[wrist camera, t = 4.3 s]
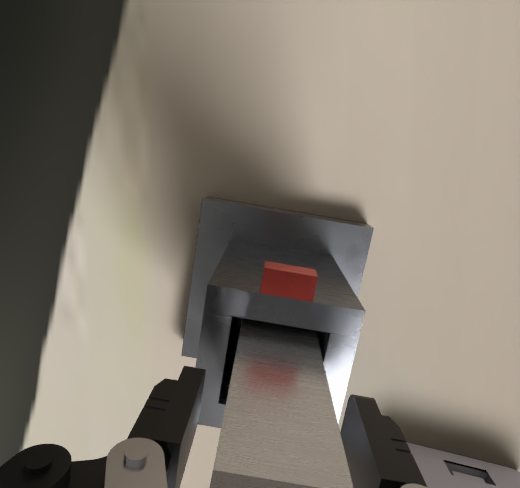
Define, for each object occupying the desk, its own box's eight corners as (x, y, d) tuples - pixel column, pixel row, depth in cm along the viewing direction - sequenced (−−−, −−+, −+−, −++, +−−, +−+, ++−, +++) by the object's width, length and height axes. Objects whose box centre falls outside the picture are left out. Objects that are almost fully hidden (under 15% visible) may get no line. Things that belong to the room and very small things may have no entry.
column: (251, 268, 23) (191, 564, 6) (303, 277, 23) (384, 596, 6) (243, 317, 23) (168, 703, 7) (294, 326, 23) (343, 732, 7)
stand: (206, 196, 24) (160, 223, 14) (367, 223, 24) (431, 269, 14) (186, 344, 26) (134, 455, 16) (333, 369, 26) (369, 495, 16)
